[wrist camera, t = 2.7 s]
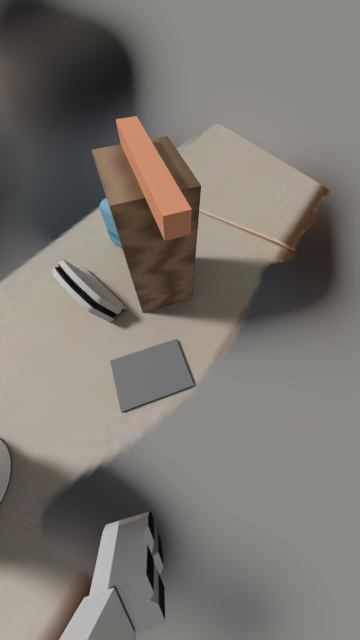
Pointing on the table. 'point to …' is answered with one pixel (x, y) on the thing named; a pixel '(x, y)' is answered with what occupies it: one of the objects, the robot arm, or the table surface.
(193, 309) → the table surface
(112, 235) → the data package
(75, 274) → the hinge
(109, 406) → the table surface
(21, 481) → the table surface
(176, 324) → the table surface
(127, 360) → the mat
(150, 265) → the brown block
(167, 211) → the pin
